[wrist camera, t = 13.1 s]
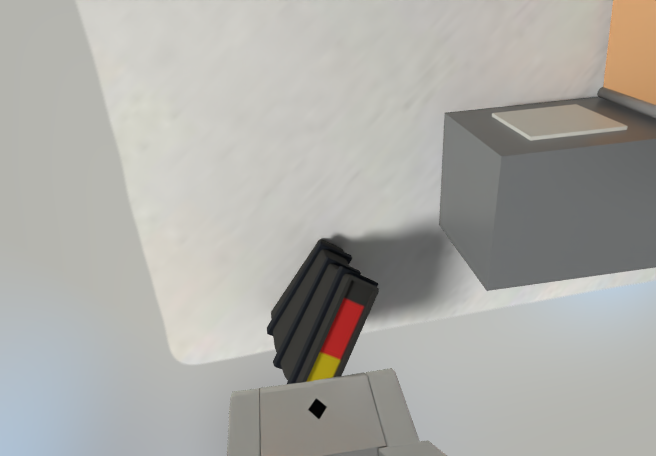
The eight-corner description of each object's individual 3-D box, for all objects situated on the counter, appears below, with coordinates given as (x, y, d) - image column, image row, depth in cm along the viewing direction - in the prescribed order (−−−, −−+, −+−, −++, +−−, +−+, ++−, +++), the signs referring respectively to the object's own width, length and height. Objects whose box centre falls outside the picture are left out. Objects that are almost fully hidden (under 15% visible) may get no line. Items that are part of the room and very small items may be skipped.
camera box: (444, 109, 46) (502, 152, 35) (620, 91, 47) (725, 127, 37) (439, 224, 52) (486, 290, 41) (595, 205, 53) (679, 263, 43)
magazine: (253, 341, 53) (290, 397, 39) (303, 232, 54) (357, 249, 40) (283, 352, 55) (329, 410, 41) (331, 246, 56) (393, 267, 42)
